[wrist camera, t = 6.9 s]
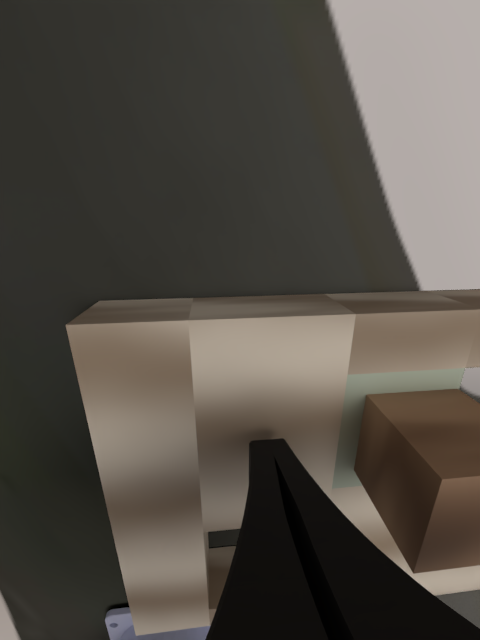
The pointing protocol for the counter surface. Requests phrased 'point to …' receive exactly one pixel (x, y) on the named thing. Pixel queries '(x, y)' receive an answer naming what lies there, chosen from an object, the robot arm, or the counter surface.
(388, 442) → the walnut block
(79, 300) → the counter surface
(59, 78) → the counter surface
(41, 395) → the counter surface
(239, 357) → the trap deck
